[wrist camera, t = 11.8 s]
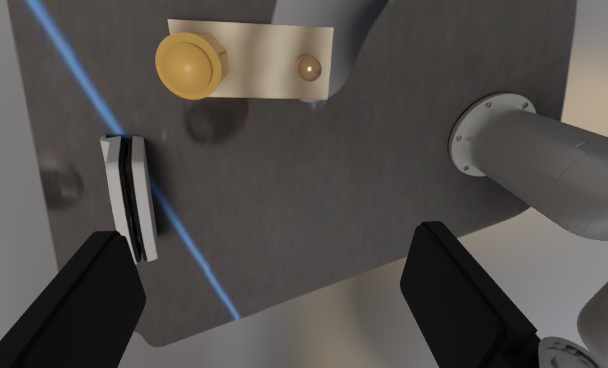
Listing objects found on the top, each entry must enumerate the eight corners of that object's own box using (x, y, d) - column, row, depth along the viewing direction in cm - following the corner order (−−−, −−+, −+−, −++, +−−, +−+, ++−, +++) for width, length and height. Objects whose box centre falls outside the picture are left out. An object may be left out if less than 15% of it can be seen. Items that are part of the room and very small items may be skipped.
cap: (226, 32, 31) (215, 34, 25) (230, 88, 34) (222, 102, 28) (169, 30, 31) (143, 30, 24) (179, 87, 33) (158, 101, 27)
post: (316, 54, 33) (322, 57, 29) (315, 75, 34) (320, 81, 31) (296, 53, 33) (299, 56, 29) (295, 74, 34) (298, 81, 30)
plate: (331, 27, 33) (333, 27, 32) (326, 97, 37) (327, 99, 36) (171, 19, 31) (167, 19, 30) (182, 94, 35) (180, 96, 34)
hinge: (101, 132, 36) (88, 164, 28) (143, 131, 38) (142, 161, 30) (123, 236, 44) (117, 283, 36) (157, 231, 46) (159, 274, 38)
